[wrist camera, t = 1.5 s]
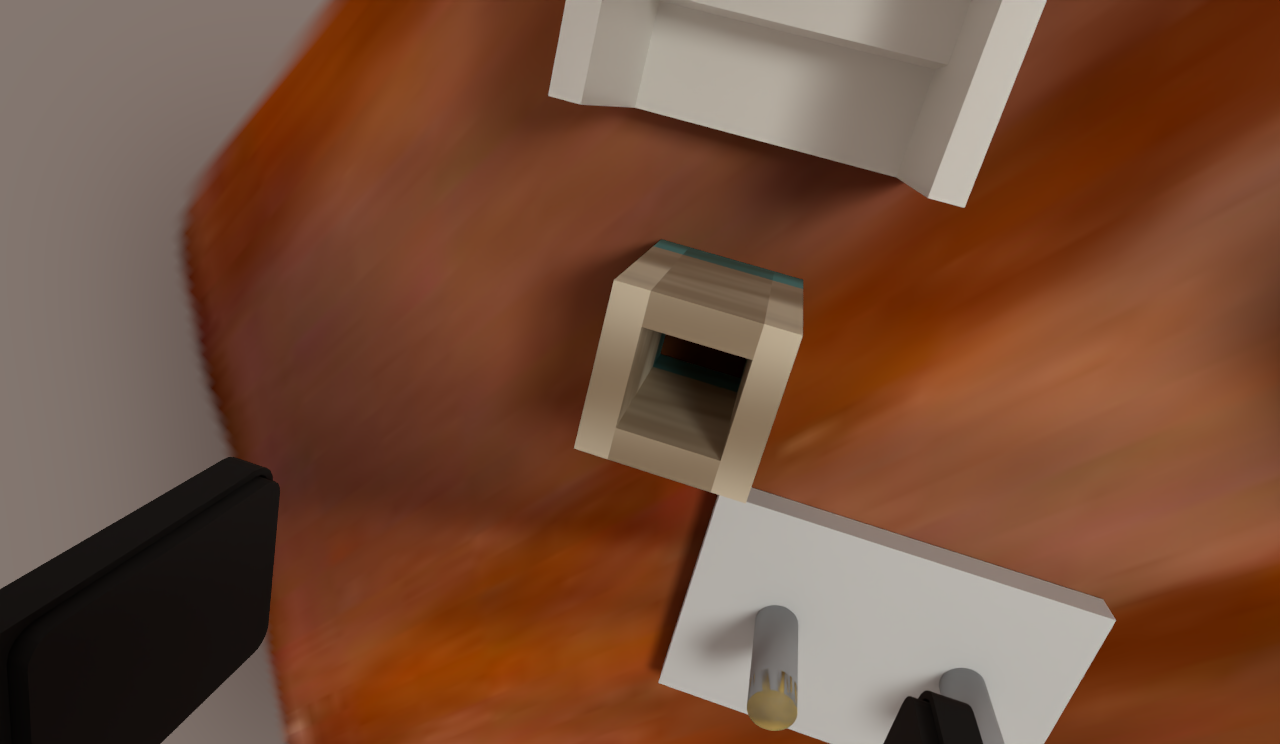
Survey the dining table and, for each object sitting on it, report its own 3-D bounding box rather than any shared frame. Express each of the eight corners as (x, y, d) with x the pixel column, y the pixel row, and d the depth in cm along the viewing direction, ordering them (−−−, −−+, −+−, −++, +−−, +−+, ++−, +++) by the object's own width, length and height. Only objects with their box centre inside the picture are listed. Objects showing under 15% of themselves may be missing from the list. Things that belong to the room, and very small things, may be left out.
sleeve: (661, 239, 26) (613, 279, 20) (803, 279, 25) (802, 335, 19) (627, 370, 28) (573, 448, 21) (759, 411, 27) (745, 503, 21)
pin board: (723, 478, 28) (704, 561, 23) (1103, 599, 27) (1176, 717, 22) (663, 662, 32) (635, 772, 26) (1000, 780, 30) (1042, 921, 25)
